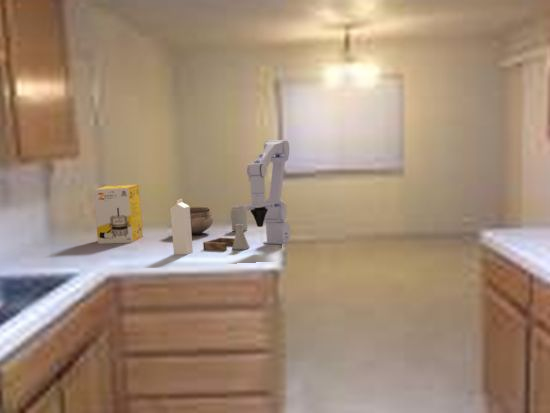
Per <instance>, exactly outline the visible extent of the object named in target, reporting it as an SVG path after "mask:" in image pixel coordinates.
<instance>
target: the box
mask: <svg viewBox="0 0 550 413" xmlns="http://www.w3.org/2000/svg"><path fill="white" fill-rule="evenodd" d="M234 240H235V237H216V238H215V239H214V238H213V239H211V240H208V241H204V242H202V245H203V246H202V247H203V250H207V251H223V252H227V251H228V248H227V246H232V247H233V243H234Z"/></svg>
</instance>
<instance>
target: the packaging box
mask: <svg viewBox="0 0 550 413" xmlns="http://www.w3.org/2000/svg"><path fill="white" fill-rule="evenodd" d="M92 192H93V201H94V210H95V211H94V214H95V223H96V235H97V244H99V245H103V244H125V243H127V244H130V243H134V242H136V241H138V240H139V239H141V238H142V237H144V235H143V225H142V224H143V222H142V210H141V197H140V185H139V184H125V185H122V184H121V185H106V186H102V187H98V188H94V189H93V190H92Z"/></svg>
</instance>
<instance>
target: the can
mask: <svg viewBox="0 0 550 413" xmlns="http://www.w3.org/2000/svg"><path fill="white" fill-rule="evenodd" d="M243 206H244V205H232V206H231V209H230V219H231V221H230V222H231V230H232V231H233V232H235V233H236V226H235V225H237V224H243V232H246V231H247V230H248V215H247V211H243Z"/></svg>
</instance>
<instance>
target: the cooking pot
mask: <svg viewBox="0 0 550 413" xmlns="http://www.w3.org/2000/svg"><path fill="white" fill-rule="evenodd" d="M210 209H211V206H190V219H191V234H192V236H199V235H202V233H204V232H205V231H207V230H208V229H210V227H211V226H212V224H213V220H214V219H213V218H214V217H213V214H212V212H211V210H210Z"/></svg>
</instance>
